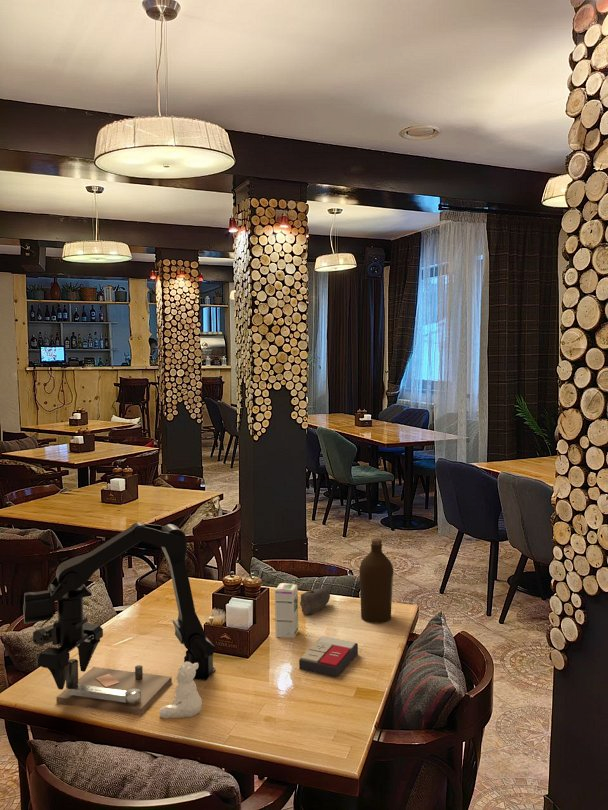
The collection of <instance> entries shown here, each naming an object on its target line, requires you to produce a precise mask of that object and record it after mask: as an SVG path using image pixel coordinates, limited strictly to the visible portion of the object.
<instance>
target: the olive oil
mask: <svg viewBox="0 0 608 810" xmlns="http://www.w3.org/2000/svg"><path fill="white" fill-rule="evenodd" d="M370 549H371V550H370V552H369V553H368V554H367V555H366V556H365V557H364V558H363V559H362V561H361V562H360V566H359V569H358V571H359V588H360V589H359V591H360V592H359V593H360V596H359V597H360V618H361V619H362V620H363V621H365V622H367V623H370V624H384V623H387V622H389V621H391V619H392V603H393V601H392V600H393V586H394V567H393V564H392V562H391V560H390V559H389V558H388V557H387V555H385V553H383V544H382V539H380V538H372V539H371V543H370Z"/></svg>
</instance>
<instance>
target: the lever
mask: <svg viewBox="0 0 608 810" xmlns="http://www.w3.org/2000/svg"><path fill="white" fill-rule="evenodd" d="M68 662H70V665H69V669H68V673H67V677H66V681H65V688H66V689H69V695H75V696H82V697H89V698H96V699H104V700H111V701H118V702H125V703H126V704H129V705H134V704H138V703H139V702H141V690H140V689H130V690H127V691H125V690H117V689H110V688H102V687H95V686H87V685H80V684H78V679H79V659H76V658H72V659H70V658H69V661H68Z"/></svg>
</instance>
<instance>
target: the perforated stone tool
mask: <svg viewBox="0 0 608 810" xmlns="http://www.w3.org/2000/svg"><path fill="white" fill-rule="evenodd" d="M330 593H331V592H330V591H329V590H328V589H326V588H316V589H311V590H308V591H306V592H303V593H302V594H300V601H299V605H300V607H301V612H302V613H303V614H305V615H312V614H314V613H315V614H316V613H317V612H319V611H321V610H322V609H323V608H324V607H326V606H327V605H328V603H329V602H330V597H331V594H330Z"/></svg>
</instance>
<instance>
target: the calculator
mask: <svg viewBox="0 0 608 810" xmlns="http://www.w3.org/2000/svg"><path fill="white" fill-rule="evenodd" d="M358 655H359V646H358V642H355V641H349V640H345V639H340V638H335V637H329V636H323V635H322V636H320V637H319V639H318V640H317V641H316V642H315V643H314V644H313V645H312V646H311V647H310V648H309V649H308V650H307V651H306V652H305V653H304V654H303V655H302V656H301V657H300V658H299V659H298V660H299V661H298V663H299V665H298V667H299V670H301V671H304V672H310V673H313V674H318V675H324V676H326V677H327V676H328V677H331V678H332V677H333V678H338V677H340V676H341V675H342V673H344V671H346V669H347V667H348V666H350V664H351V662H353V661H354V660H356V658H357V657H358Z"/></svg>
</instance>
